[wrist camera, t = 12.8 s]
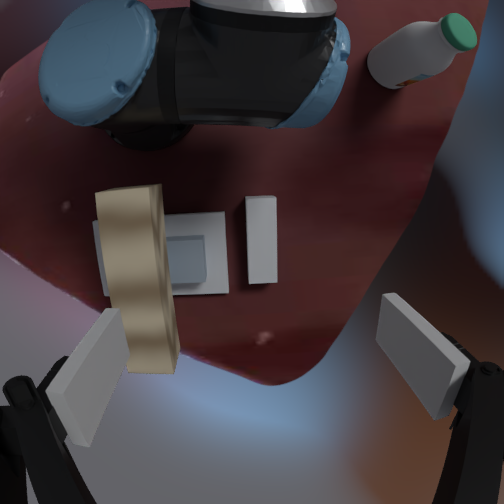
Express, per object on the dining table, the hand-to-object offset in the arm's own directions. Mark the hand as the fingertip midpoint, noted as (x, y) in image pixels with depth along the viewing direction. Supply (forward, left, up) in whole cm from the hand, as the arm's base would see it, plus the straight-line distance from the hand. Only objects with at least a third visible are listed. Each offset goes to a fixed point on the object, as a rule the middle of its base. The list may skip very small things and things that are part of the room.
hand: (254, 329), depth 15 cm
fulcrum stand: (+5, -12, -32) cm, 34 cm away
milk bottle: (-24, +24, -32) cm, 47 cm away
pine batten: (+5, -12, -24) cm, 27 cm away
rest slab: (+3, +3, -32) cm, 32 cm away
